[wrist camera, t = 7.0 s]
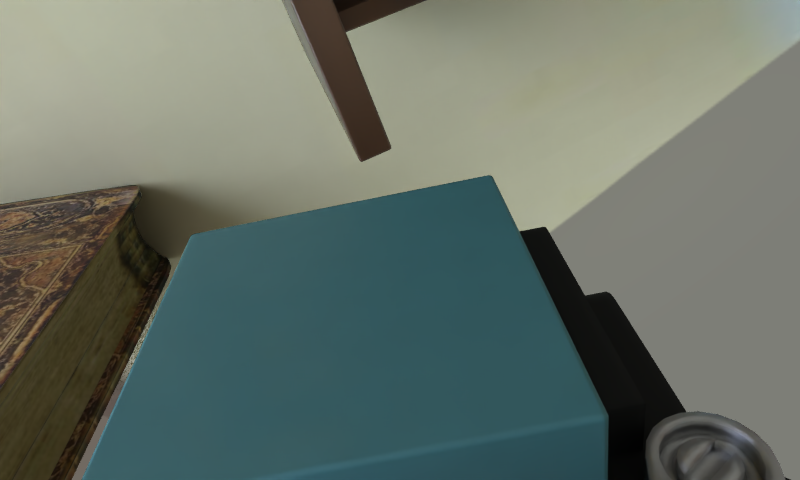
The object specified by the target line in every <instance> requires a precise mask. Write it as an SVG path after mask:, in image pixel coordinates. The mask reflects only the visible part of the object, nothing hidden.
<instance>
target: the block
mask: <svg viewBox="0 0 800 480" xmlns="http://www.w3.org/2000/svg"><path fill="white" fill-rule="evenodd" d="M608 420H609V416H608V414H607V412H606V410H605V407H604V405H603V403H602V401H601V399H600V397H599V395H598V393H597V391H596V389H595V387H594V385H593V383H592V381H591V379H590V377H589V374H588V372H587V370H586V368H585V366H584V364H583V362H582V360H581V358H580V356H579V354H578V352H577V350H576V348H575V346H574V344H573V341H572V339H571V337H570V335H569V333H568V331H567V329H566V327H565V325H564V323H563V321H562V319H561V317H560V315H559V313H558V311H557V308H556V306H555V304H554V302H553V300H552V298H551V296H550V294H549V292H548V290H547V288H546V286H545V284H544V282H543V280H542V278H541V275H540V273H539V271H538V269H537V267H536V265H535V263H534V261H533V259H532V257H531V255H530V253H529V251H528V249H527V247H526V245H525V243H524V240H523V238H522V236H521V234H520V232H519V230H518V228H517V226H516V224H515V222H514V220H513V218H512V216H511V214H510V212H509V210H508V207H507V205H506V203H505V201H504V199H503V197H502V195H501V193H500V191H499V189H498V187H497V185H496V183H495V181H494V179H493V177H492V176H490V175H488V176H483V177H478V178H473V179H468V180H463V181H458V182H453V183H448V184H443V185H437V186H432V187H427V188H422V189H417V190H412V191H407V192H402V193H397V194H392V195H387V196H382V197H377V198H372V199H367V200H362V201H357V202H352V203H347V204H342V205H337V206H332V207H327V208H322V209H317V210H312V211H307V212H302V213H297V214H292V215H287V216H282V217H277V218H272V219H267V220H262V221H257V222H252V223H247V224H242V225H237V226H232V227H227V228H222V229H216V230H211V231H206V232H201V233H196V234H193V235H191V237H190V239H189V241H188V243H187V245H186V248H185V250H184V252H183V254H182V257H181V259H180V261H179V263H178V266H177V268H176V270H175V272H174V275H173V277H172V279H171V281H170V283H169V286H168V288H167V290H166V292H165V295H164V297H163V299H162V301H161V304H160V306H159V308H158V310H157V312H156V315H155V317H154V319H153V321H152V324H151V326H150V328H149V330H148V333H147V335H146V337H145V339H144V341H143V344H142V346H141V348H140V350H139V353H138V355H137V357H136V359H135V362H134V364H133V366H132V368H131V371H130V373H129V375H128V377H127V379H126V382H125V384H124V386H123V388H122V391H121V393H120V395H119V397H118V400H117V402H116V404H115V406H114V408H113V411H112V413H111V415H110V417H109V420H108V422H107V424H106V427H105V429H104V431H103V433H102V435H101V438H100V440H99V442H98V444H97V446H96V449H95V451H94V453H93V455H92V458H91V460H90V462H89V464H88V467H87V469H86V471H85V473H84V475H83V478H82V480H608Z"/></svg>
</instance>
